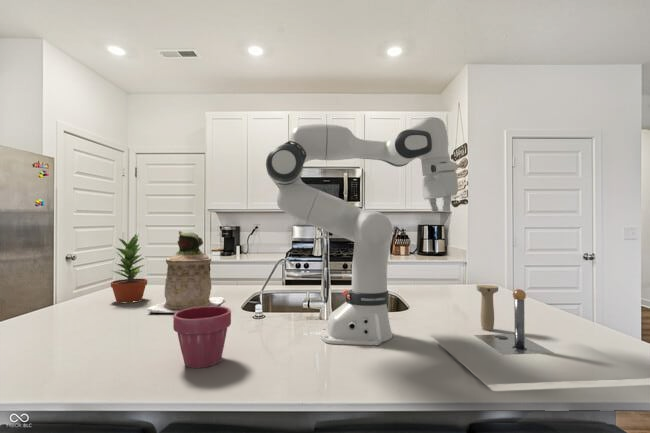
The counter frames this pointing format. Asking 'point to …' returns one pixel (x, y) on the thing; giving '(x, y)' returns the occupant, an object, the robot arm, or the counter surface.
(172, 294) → the cookie jar
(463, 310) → the counter surface
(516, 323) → the lever with round knob
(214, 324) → the plant pot
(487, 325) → the handle
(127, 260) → the potted plant
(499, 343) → the plate
